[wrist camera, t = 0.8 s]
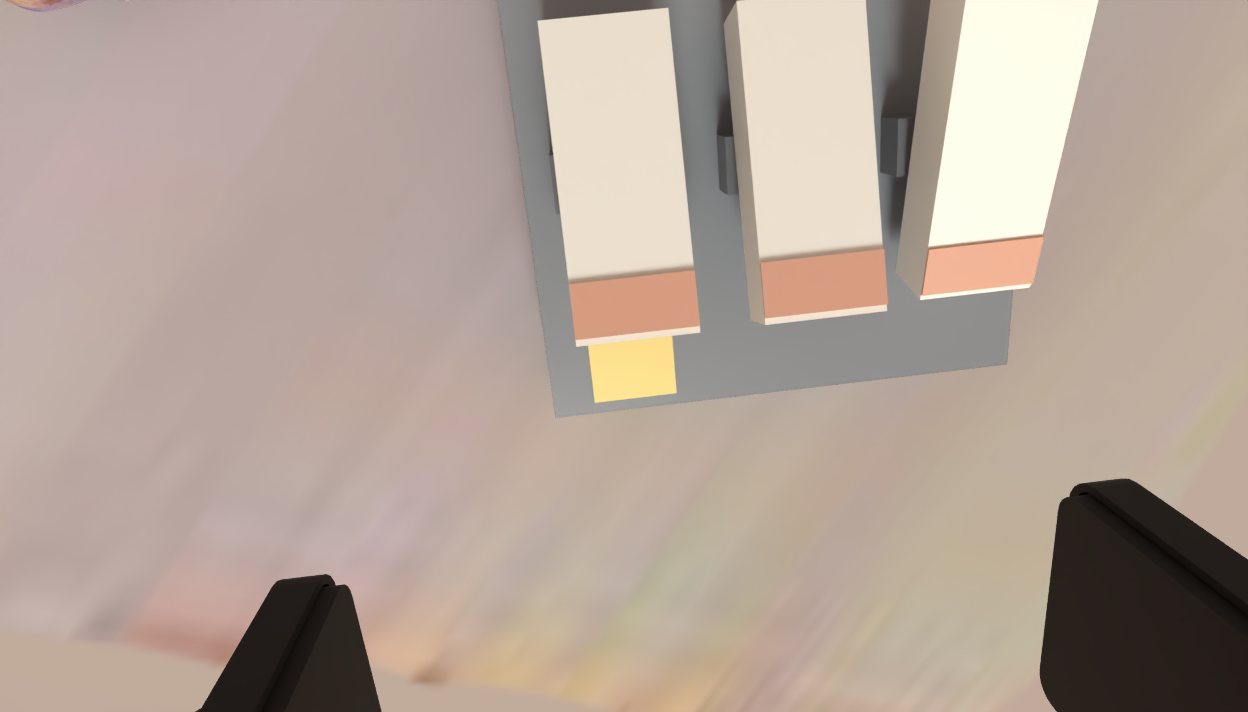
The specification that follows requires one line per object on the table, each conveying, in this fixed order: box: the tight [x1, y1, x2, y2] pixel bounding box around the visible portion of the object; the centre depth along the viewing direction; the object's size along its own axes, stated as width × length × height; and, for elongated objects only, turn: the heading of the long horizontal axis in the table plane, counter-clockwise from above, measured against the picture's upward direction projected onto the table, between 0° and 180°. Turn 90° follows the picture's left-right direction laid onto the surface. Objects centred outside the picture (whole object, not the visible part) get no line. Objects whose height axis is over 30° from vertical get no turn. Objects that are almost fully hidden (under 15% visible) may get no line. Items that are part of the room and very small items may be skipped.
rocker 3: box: [896, 0, 1098, 300], centre depth 23 cm, size 9×4×2 cm, turn 5°
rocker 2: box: [724, 0, 888, 325], centre depth 23 cm, size 9×4×2 cm, turn 5°
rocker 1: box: [538, 8, 700, 347], centre depth 22 cm, size 9×4×2 cm, turn 5°
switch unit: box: [497, 0, 1013, 418], centre depth 27 cm, size 17×17×5 cm
